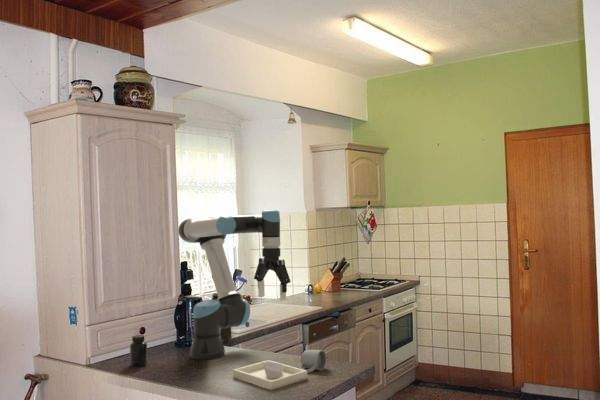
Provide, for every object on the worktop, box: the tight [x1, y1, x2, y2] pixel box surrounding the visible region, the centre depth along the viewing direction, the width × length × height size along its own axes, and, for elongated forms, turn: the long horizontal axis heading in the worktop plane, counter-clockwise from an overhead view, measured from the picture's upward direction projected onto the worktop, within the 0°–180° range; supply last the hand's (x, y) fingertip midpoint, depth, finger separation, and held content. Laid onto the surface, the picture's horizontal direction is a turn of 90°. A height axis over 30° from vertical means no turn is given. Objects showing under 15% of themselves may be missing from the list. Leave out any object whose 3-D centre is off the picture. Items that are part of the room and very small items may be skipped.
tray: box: [232, 359, 308, 391], centre depth 212 cm, size 22×18×3 cm
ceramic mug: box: [300, 349, 327, 374], centre depth 222 cm, size 11×8×8 cm
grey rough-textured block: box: [265, 360, 283, 379], centre depth 212 cm, size 10×6×6 cm, turn 169°
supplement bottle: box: [129, 334, 148, 368], centre depth 233 cm, size 7×7×12 cm
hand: (272, 298), depth 233 cm, fingers open, 13 cm apart
